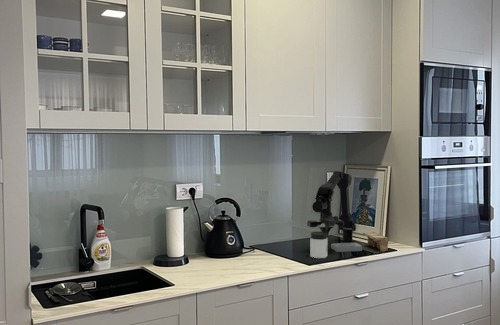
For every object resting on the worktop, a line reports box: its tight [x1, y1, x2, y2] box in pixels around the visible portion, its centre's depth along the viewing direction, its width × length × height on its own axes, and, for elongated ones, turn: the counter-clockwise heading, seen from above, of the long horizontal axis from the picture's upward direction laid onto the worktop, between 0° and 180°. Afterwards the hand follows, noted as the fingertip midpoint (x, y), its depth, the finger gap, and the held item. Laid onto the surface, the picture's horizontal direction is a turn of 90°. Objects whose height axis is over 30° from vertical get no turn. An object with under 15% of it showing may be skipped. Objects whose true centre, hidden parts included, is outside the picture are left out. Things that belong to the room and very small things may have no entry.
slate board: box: [330, 242, 363, 253], centre depth 268 cm, size 9×14×3 cm, turn 100°
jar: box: [309, 231, 328, 259], centre depth 252 cm, size 9×8×12 cm
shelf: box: [362, 231, 389, 252], centre depth 272 cm, size 16×7×7 cm, turn 12°
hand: (325, 239), depth 266 cm, fingers closed
